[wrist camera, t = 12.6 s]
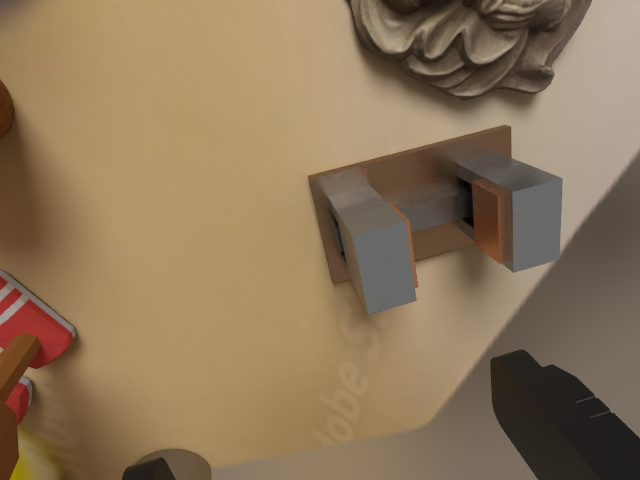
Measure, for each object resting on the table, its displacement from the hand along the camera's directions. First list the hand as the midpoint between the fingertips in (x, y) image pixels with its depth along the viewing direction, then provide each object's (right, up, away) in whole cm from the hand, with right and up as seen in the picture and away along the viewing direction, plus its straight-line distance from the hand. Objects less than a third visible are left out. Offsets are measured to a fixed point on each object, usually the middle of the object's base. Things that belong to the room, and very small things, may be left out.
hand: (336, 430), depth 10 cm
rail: (+9, +8, +32) cm, 34 cm away
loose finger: (+3, +6, +30) cm, 31 cm away
